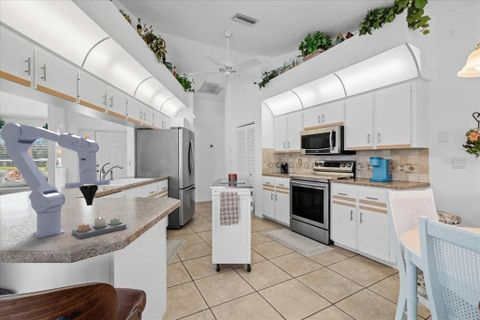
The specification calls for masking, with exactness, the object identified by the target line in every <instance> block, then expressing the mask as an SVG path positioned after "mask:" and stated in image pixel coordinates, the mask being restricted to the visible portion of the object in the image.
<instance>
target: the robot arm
mask: <svg viewBox="0 0 480 320" xmlns="http://www.w3.org/2000/svg"><path fill="white" fill-rule="evenodd" d="M0 138H1V139H2V141H3V142H4V147H5V151H6V153H7V155H8V157H9V158H10V160H11V162H12V163H13V164H14V166H15V167H16V169H17V170H18V172H19V173H20V175H21V177H22V178H23V179H24V181H25V182H26V184H27V186H28V187H29V189H30V190H31V192H30V194H29V195H28V199H29V200H30V205H31V208H32V209H33V211H35V213H36V231H33V234H34V235H35V237H36V238H37V239H40V238H45V237H50V236H54V235H58V234H59V235H60V234H64V233H65V230H63V229H62V209H63V206H64V205H65V203H66V196H65V194H64V193H63V192H61V191H59V189H57V187H56V186H54V185H51V184H50V183H49V182H48V180H47V179H46V177H45V176H44V174H43V172H42V171H41V169H40V168H39V167H38V165H37V163H36V162H35V160H34V159H33V157H32V156H31V154H30V153H29V149H30V148H32V146H33V145H34V143H35V142H36V141H37V140H38V139H45V140H48V141H53V142H56V143H57V145H58V147H61V148H64V149H67V150H71V151H73V152H76V153H77V157H78V170H79V171H78V175H79V178H78V179H79V181H78V182H69V183H68V182H65V184H64V185H65V186H64V188H65V189H67V190H68V189H77V188H79V191H80V193H81V194H82V195H83V198H84V200H85V204H86V206H87V207H89V206H93V202H94V199H95V196H96V193H97V191H98V190H99V186H106V185H107V186H108V185H110V183H111V182H110V179H103V180H102V179H101V180H100V179H99V180H98V172H97V171H98V170H97V166H98V165H97V153H98V151H99V149H100V147H99V144H98V142H96V141H95V140H93V139H86V137H85V136H77V135H76V134H74V133H73V132H63V133H61V134H60V133H57V132H54V131H52V130H48V129H47V128H43V127H40V126H34V125H27V124H22V123H15V122H7V123H5V124H4V125H3V126H2V127H1V130H0Z"/></svg>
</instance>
